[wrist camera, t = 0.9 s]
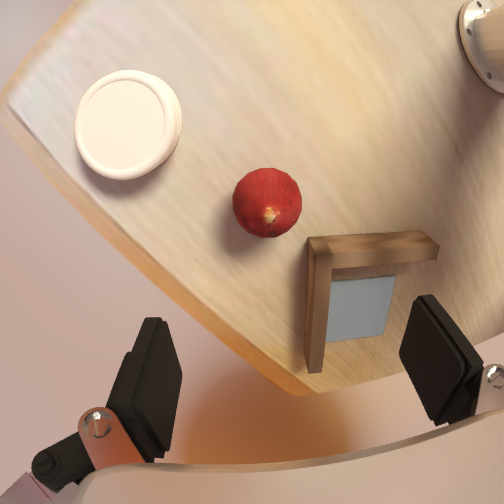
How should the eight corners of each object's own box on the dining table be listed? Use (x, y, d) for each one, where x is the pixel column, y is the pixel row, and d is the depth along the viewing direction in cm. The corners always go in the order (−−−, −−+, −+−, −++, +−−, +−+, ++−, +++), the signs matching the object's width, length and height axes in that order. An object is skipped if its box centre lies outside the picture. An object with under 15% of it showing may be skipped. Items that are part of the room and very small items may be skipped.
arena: (421, 230, 31) (439, 245, 27) (397, 338, 38) (408, 357, 34) (308, 237, 31) (316, 254, 27) (303, 351, 38) (308, 373, 34)
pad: (394, 275, 33) (395, 276, 33) (382, 333, 37) (383, 334, 37) (322, 282, 33) (323, 283, 33) (317, 341, 37) (318, 343, 37)
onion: (293, 219, 30) (309, 256, 23) (235, 221, 30) (232, 258, 23) (295, 161, 28) (313, 180, 20) (233, 162, 28) (228, 180, 20)
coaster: (73, 116, 25) (54, 118, 22) (148, 53, 23) (136, 47, 20) (122, 191, 29) (109, 202, 25) (203, 135, 27) (197, 138, 23)
